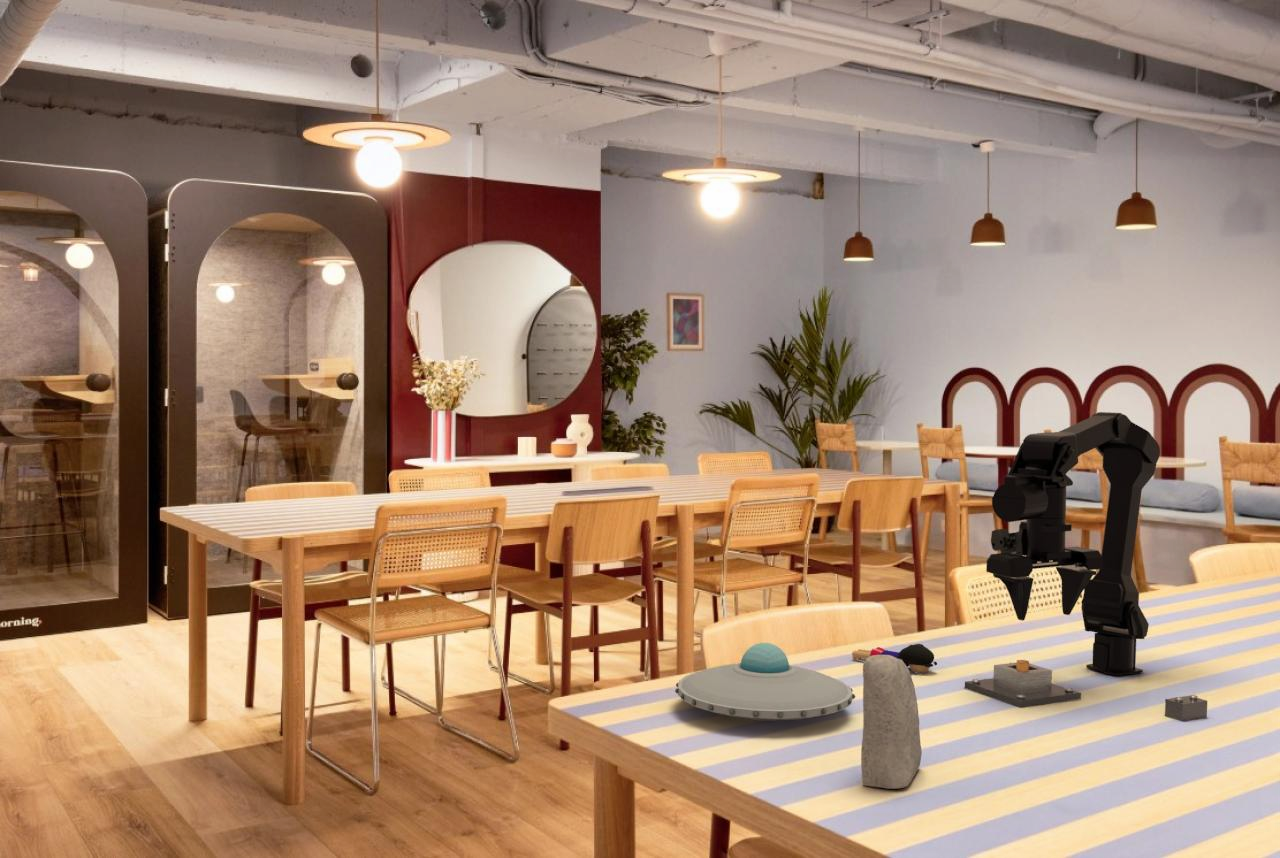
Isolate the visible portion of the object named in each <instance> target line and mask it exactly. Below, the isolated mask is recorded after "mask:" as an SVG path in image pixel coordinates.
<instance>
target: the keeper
mask: <svg viewBox="0 0 1280 858" xmlns="http://www.w3.org/2000/svg"><path fill="white" fill-rule="evenodd" d="M1016 662H1017V667H1016V669H1017V670H1020V671H1028V670H1029V663H1030V661H1029V660H1027V659H1017V660H1016ZM993 681H994V677H991V678H984V679H978V678H977V679H975V678H974V679H971V680H968V681H964V689H967V690H969V691H971V692H974V693H975V692H976V693H977V694H979V695H980V694H981V695H983V696H986V697H989V698H993V699H995V700H998V701H1001V702H1003V703H1006V704H1009V705H1013V706H1014V707H1015V706H1016V707H1018V708H1026V707H1028V708H1029V707H1033V706H1035V707H1036V706H1042V705H1049V704H1056V703H1063V702H1070V701H1076V700H1077V701H1078V700H1081V697H1082V693H1081V691H1077V690H1074V688H1071V687H1065V686H1062V685H1059V684H1055V683H1052V687H1051V690H1046V691H1039V692H1031V693H1024V694H1020V693H1017V692H1015V691H1012V690H1009V689H1006V688H1003V687H1000V686H997V685H994V684H993Z"/></svg>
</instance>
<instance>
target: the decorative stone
mask: <svg viewBox="0 0 1280 858" xmlns="http://www.w3.org/2000/svg"><path fill="white" fill-rule="evenodd" d="M862 677H863V683H862V685H863V686H862V687H863V688H862V706H863V711H862V712H863V713H862V714H863V715H862V716H863V720H862V721H863V724H862V725H863V726H862V740H861V750H860V751H861V752H860V753H861V754H860V755H861V756H860V757H861V758H860V761H861V763H860V767H861V783H862V785H864V786H865V787H873V788H884V789H888V790H891V789H903V788H906V787H908V786H909V784H911V782H912V781H913V778H914V776H915V775H916V773H917V771H918V770H919V768H920V766H921V760H922V751H923V750H922V745H921V735H920V734H921V733H920V718H919V717H920V716H919V708H918V707H919V706H918V701H917V700H918V699H917V694H916V688H915V684H914V681H913V678H912V675H911V672H910V670H909V667H907V666H906V665H905V664H904V662H903V661H902V660H901V659H897V658H895V657H893V656H890V655H872V656H870V657H868V658H867V659H865V660H864V661H863V665H862Z"/></svg>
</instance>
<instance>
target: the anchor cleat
mask: <svg viewBox="0 0 1280 858" xmlns="http://www.w3.org/2000/svg"><path fill="white" fill-rule="evenodd" d="M1164 702H1165V704H1164V716H1165V717H1168V718H1171V719H1175V720H1177V721H1181V722H1185V721H1192V720H1196V719H1197V720H1198V719H1205V718H1207V717H1208V700H1206V699H1202V698H1199V697H1198V695H1194V694H1189V695H1184V696H1176V697H1171V698H1165V701H1164Z"/></svg>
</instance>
